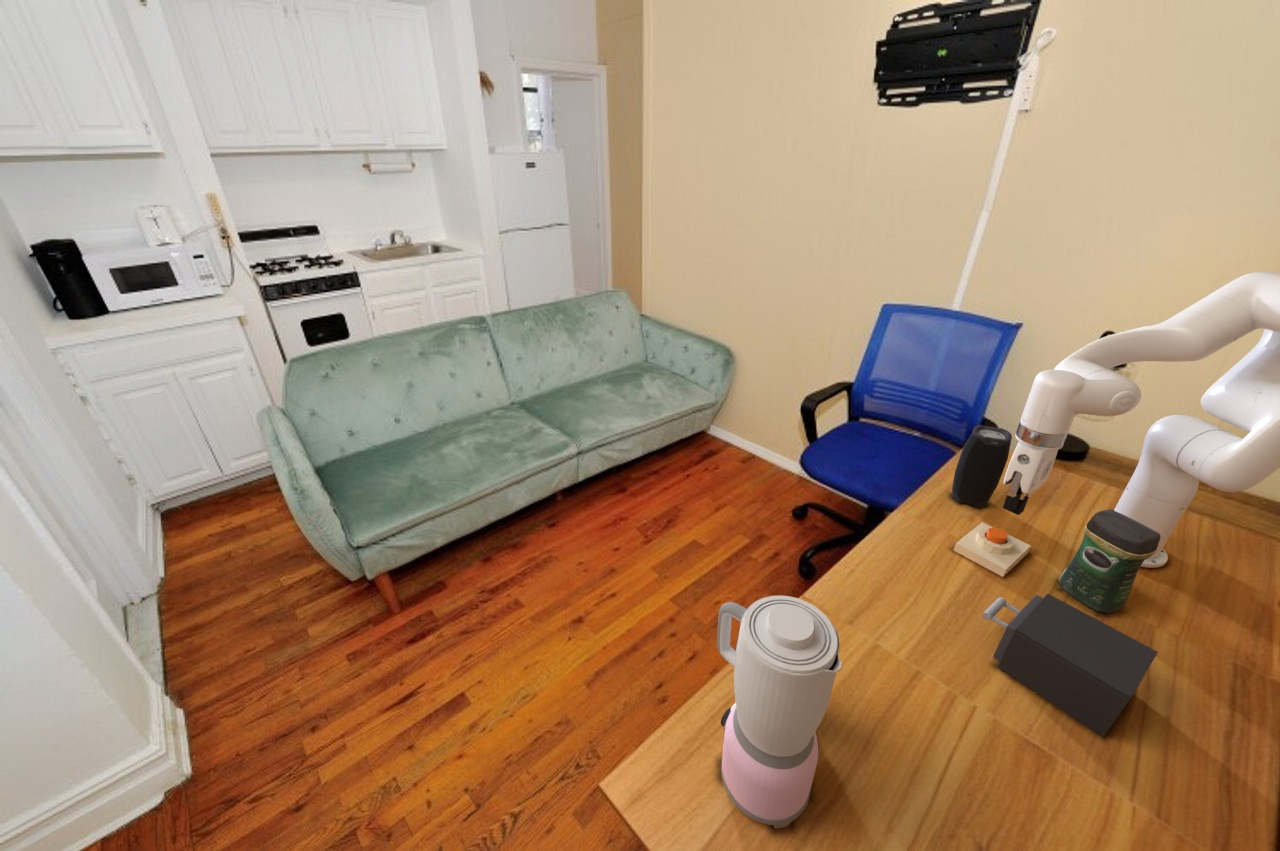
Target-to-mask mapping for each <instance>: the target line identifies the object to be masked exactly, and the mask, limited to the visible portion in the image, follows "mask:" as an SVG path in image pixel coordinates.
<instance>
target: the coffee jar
mask: <svg viewBox="0 0 1280 851" xmlns="http://www.w3.org/2000/svg"><path fill="white" fill-rule="evenodd" d="M1160 537H1161V536H1160V534H1159V533H1158V532H1156V531H1154V530H1152V529H1151V528H1149V527H1147V526H1145V525H1143V524H1141V523H1139V522H1137V521H1135V520H1133V519H1131V518H1129V517H1127V516H1125V515H1123V514H1121V513H1118V512H1116V511H1115V510H1114V509H1113V508H1109V509H1104V510H1100V511H1097V512H1095V513H1094V514H1093V516H1091V518H1090V519H1089V521H1088V522H1087V523H1086V524H1085V526H1084V536H1083V539H1082V542H1081V544H1080V546H1079V547H1078V550H1077V552H1076V553H1075V554H1074V556H1073V558H1072V559H1071V560H1070V562H1069V564H1068V565H1067V566H1066V568H1065V569H1064V571H1063V572H1062V573H1061V575H1060V577H1059V580H1058V585H1059V587H1060V588H1061V589H1062V590H1063V591H1064V592H1065V593H1066V594H1068V595H1069V596H1070V597H1071V598H1073V599H1074V600H1076V601H1078V602H1079V603H1080V604H1082V605H1084V607H1087V608H1088V609H1090V610H1092V611H1094V612H1096V613H1102V614H1112V613H1116V612H1118V611H1120V610H1122V609H1123V608H1124V606H1125V604H1126V603H1127V600H1128V598H1129V595H1130V592H1131V590H1132V587H1133V584H1134V581H1135V579H1136V577H1137V575H1138V572H1139V570H1140V568H1141V567H1140V566H1141V565H1142V563H1143V562H1144V560H1145V559H1147V558H1149V557H1150V556H1152V555H1153V554H1154V553H1155V552H1156V550H1157V547H1158V544H1159V541H1160Z"/></svg>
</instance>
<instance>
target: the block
mask: <svg viewBox="0 0 1280 851" xmlns="http://www.w3.org/2000/svg"><path fill="white" fill-rule="evenodd" d="M989 528H994V527H993V526H991V525H989V524H987V523H986V522H983V521H981V522H980V523H979V524H977V526H975V527H974V528H973V529H971V530H970V531H969V532H968V533H966V534H965V535H964V536H963V537H962V538H960V539H959V540H958V541H957V542H956V543H955V545H954V548H953V551H954V552H955V553H957V554H960V555H962V556H963V557H964V558H967V559H969V560H971V561H972V562H974V563H976V564H977V565H979V566H981V567H983V568H985V569H986V570H989V571H991V572H993V573H995V574H996V575H998V576H1000V577H1002V578H1004V577H1005V576H1006V574H1008V573H1009V572H1010V571H1011V570H1012V569H1013V568H1015V567H1016V565H1017V564H1019V563H1020V561H1021V560H1023V558H1025V557H1026V556H1027V555H1028V554H1029V551H1030V549H1031V548H1032V545H1030V544H1028V543H1026V542H1024V541H1022V540H1021V539H1018V538H1016V537H1014V536H1012V535H1010V534H1008V537H1007V540H1006V542H1005V544H1002V545H1000V544H996V543H993V542H991V541H989V540H988V539H987V538H986V534H987V531H988V529H989Z"/></svg>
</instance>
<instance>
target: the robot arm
mask: <svg viewBox="0 0 1280 851" xmlns="http://www.w3.org/2000/svg"><path fill="white" fill-rule="evenodd" d="M1259 329H1264V330H1263V332H1262V335H1261V337H1260V339H1259V340H1258V342H1257V343H1256V345H1255V346H1254V347H1253V348H1252V349H1251V350H1249V352H1247V354H1246V355H1244V356H1243V357H1242V358H1241V359H1240V360H1239V361H1238V362H1237V363H1236V364H1234V365H1233V366H1232V367H1231V368H1230V369H1229V370H1227V371H1226V372H1225V373H1224V374H1223V375H1222V376H1221V377H1219V378H1218V379H1217V380H1216V381H1215V382H1214V383H1213V384H1212V385H1211V386H1209V387H1208V389H1206V391H1205V392H1204V393H1203V395H1202V396H1201V398H1200V406H1201V408H1202V409H1203V410H1204V411H1205V412H1206V413H1208V414H1209V415H1211V416H1212V417H1215V418H1217V419H1219V420H1221V421H1223V422H1225V423H1227V424H1229V425H1232V426H1233V427H1236V428H1238V429H1240V430H1242V431H1245V432H1247V434H1246V435H1245V436H1244V437H1243V438H1242V437H1240V436H1238V435H1237V434H1234V433H1232V432H1230V431H1228V430H1226V429H1224V428H1221V427H1219V426H1217V425H1215V424H1213V423H1210V422H1208V421H1206V420H1204V419H1201V418H1199V417H1195V416H1191V415H1187V414H1173V415H1167V416H1164V417H1162V418H1160V419H1158V420H1157V421H1155V422H1154V423H1153V424H1152V425H1151V426H1150V427H1149V429H1148V430H1147V431H1146V434H1145V437H1144V441H1143V445H1142V450H1141V454H1140V457H1139V461H1138V463H1137V465H1136V468H1135V469H1134V471H1133V473H1132V476H1131V478H1130V479H1129V481H1128V483H1127V485H1126V487H1125V488H1124V490H1123V492H1122V494H1121V496H1120V498H1119V500H1118V502H1117V504H1116V505H1115V507H1114V509H1113V510H1115V511H1116V512H1118V513H1121V514H1123V515H1125V516H1127V517H1129V518H1131V519H1133V520H1135V521H1137V522H1139V523H1141V524H1143V525H1145V526H1147V527H1149V528H1151V529H1152V530H1154V531H1156V532H1158V533H1159V534H1160V536H1161V537H1160V541H1159V544H1158V547H1157V550H1156V552H1155V553H1154V554H1153V555H1152V556H1150V557H1149V558H1147V559H1145V560H1144V562H1143V563H1142V565H1141V566H1140V568H1146V569H1147V568H1149V569H1155V568H1160V567H1163V566H1165V565H1166V563H1167V562H1168V560H1169V555H1168V553H1167V551H1166V550H1165V549H1164V547H1165V545H1166V543H1167V542H1168V540H1169V539H1170V537H1171V536H1172V534H1173V532H1174V530H1176V528H1177V526H1178V524H1179V522H1180V521H1181V519H1182V518H1183V516H1184V514H1186V513H1185V512H1186V511H1187V509H1188V508H1189V506H1190V505H1191V504H1192V501H1194V498H1195V497H1196V495H1197V492H1198V490H1199V484H1200V482H1202V483H1203V484H1205V485H1208V486H1209V487H1210V488H1212V489H1215V490H1218V491H1220V492H1225V493H1239V492H1243V491H1244V492H1245V491H1247V490H1249V489H1251V488H1253V487H1255V486H1257V485H1258V484H1260V483H1262V481H1264V480H1265V479H1267V478H1268V477H1270V476H1271V475H1272V474H1274V473H1275V472H1276V471H1278V470H1279V469H1280V272H1273V271H1254V272H1250V273H1246V274H1243V275H1241V276H1239V277H1237V278H1235V279H1233V280H1231V281H1229V282H1228V283H1227V284H1225V285H1223V286H1222V287H1220V288H1218V289H1216V290H1215V291H1213V292H1211V293H1209V294H1208V295H1206V296H1204V297H1203V298H1201V299H1200V300H1198V301H1196V302H1195V303H1193V304H1191V305H1189V306H1188V307H1186V308H1184V309H1183V310H1181V311H1179V312H1178V313H1176V314H1175V315H1172V317H1170V318H1168V319H1166V320H1164V321H1162V322H1159V323H1157V324H1156V323H1155V324H1152V325H1146V326H1142V327H1141V326H1140V327H1137V328H1133V329H1129V330H1125V331H1120V332H1117V333H1113V334H1109V335H1106V336H1103V337H1101V338H1099V339H1096V340H1094V341H1091V342H1089V343H1088V344H1086V345H1084V346H1082V347H1081V348H1079V349H1078V350H1076V351H1074V352H1073V353H1071V354H1070V355H1068V356H1066V357H1065V358H1064V359H1063V360H1061V361H1060V362H1059V363H1057V365H1056V366H1055V367H1054V368H1053V369H1046V370H1043V371H1040V372H1039V373H1037V375H1036V376H1035V377H1034V380H1033V382H1032V385H1031V388H1030V391H1029V394H1028V397H1027V400H1026V403H1025V405H1024V408H1023V411H1022V414H1021V417H1020V419H1019V422H1018V426H1017V427H1016V431H1015V435H1014V437H1015V439H1016V440H1017V441H1018V442H1017V444H1016V447H1015V449H1014V450H1013V453H1012V456H1011V459H1010V461H1009V463H1008V466H1007V468H1006V471H1005V474H1004V477H1003V480H1002V481H1003V482H1002V483H1003V485H1004V486H1005V487H1007V486H1008V485H1009V487H1008V489H1007V492H1006V496H1005V499H1004V502H1003V505H1002V509H1003V510H1005V511H1008V512H1010V513H1011V514H1014V515H1017V516H1020V515H1021V514H1022V513H1024V511H1025V508H1026V507H1027V506H1026V505H1027V503H1028V501H1029V498H1030V497H1029V496H1030V495H1032V494H1033V493H1034V492H1036V491H1037V490H1039V488H1041V487H1042V486H1043V485H1044V484H1045V483H1046V482H1047V481H1049V478H1050V476H1051V474H1052V470H1053V467H1054V464H1055V461H1056V458H1057V455H1058V452H1059V450H1061V449H1062V448H1063V447H1064V444H1065V441H1066V440H1067V437H1068V434H1069V432H1070V429H1071V427H1072V424H1073V423H1074V419H1075V417H1076V416H1077V415H1089V416H1096V417H1117V416H1121V415H1125V414H1127V413H1129V412H1130V411H1132V410H1134V409H1135V408H1136V407H1137V406H1138V405H1139V404H1140V401H1141V399H1142V391H1141V389H1140V388H1141V387H1139V385H1138V384H1137V383H1135V382H1134V381H1133V380H1132V379H1130V378H1128V377H1126V376H1124V375H1122V374H1119V373H1117V372H1115V371H1112V370H1111V369H1112V368H1114V367H1117V366H1121V365H1126V364H1130V363H1137V362H1167V363H1168V362H1171V363H1172V362H1173V363H1174V362H1175V363H1176V362H1177V363H1178V362H1180V363H1181V362H1196V361H1197V362H1198V361H1201V360H1204V359H1206V358H1208V357H1210V356H1211V355H1213V354H1215V353H1216V352H1218V351H1220V350H1222V349H1223V348H1225V347H1227V346H1229V345H1231V344H1232V343H1234V342H1236V341H1238V340H1240V339H1241V338H1243V337H1244V336H1246V335H1248V334H1250V333H1252V332H1254V331H1256V330H1259Z"/></svg>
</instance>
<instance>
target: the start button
mask: <svg viewBox="0 0 1280 851" xmlns="http://www.w3.org/2000/svg"><path fill="white" fill-rule="evenodd" d="M1008 535H1009V534H1008V533H1007V532H1006V531H1005V530H1004V529H1002V528H999V527H993V528H989V529H988V531H987V534H986V538H987V539H988V540H989V541H991V542H993V543H996V544H1000V545H1002V544H1005V542H1006V540H1007V537H1008Z"/></svg>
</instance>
